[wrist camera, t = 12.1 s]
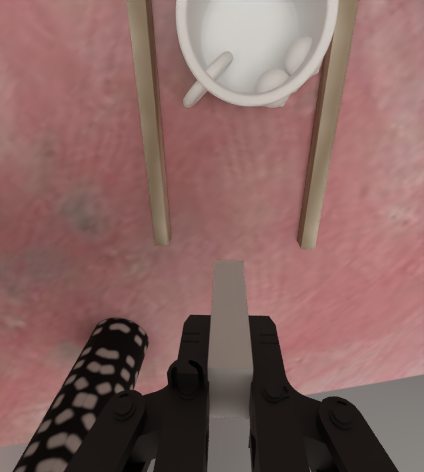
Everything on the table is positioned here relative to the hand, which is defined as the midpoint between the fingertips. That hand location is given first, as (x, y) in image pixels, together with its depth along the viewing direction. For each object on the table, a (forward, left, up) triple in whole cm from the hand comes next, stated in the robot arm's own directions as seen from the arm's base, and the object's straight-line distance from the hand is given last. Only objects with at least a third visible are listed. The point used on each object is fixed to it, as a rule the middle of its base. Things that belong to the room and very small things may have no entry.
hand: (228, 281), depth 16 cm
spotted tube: (-16, -24, -18) cm, 34 cm away
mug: (+1, +12, -18) cm, 21 cm away
